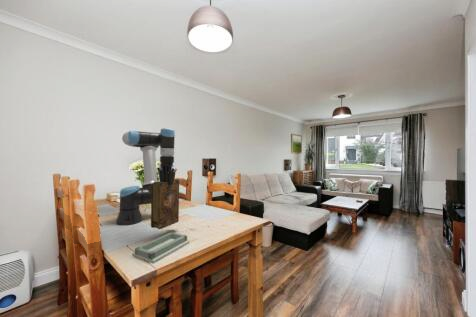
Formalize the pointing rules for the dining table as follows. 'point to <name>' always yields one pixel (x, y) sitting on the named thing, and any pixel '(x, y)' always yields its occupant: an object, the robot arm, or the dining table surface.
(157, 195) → the book
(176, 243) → the tray
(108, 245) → the dining table surface
